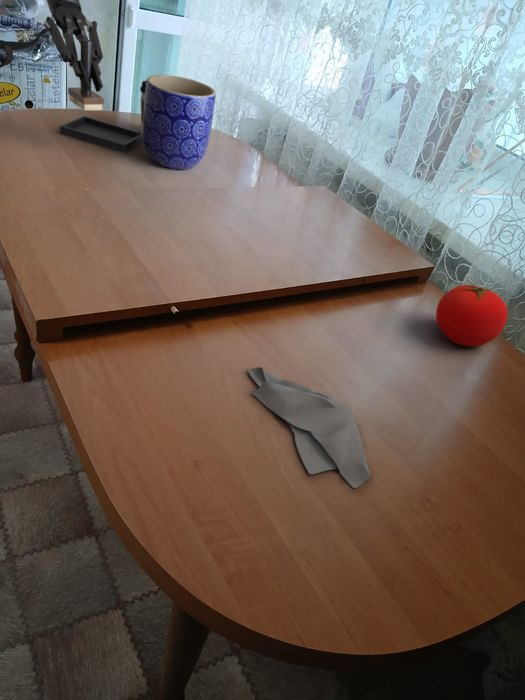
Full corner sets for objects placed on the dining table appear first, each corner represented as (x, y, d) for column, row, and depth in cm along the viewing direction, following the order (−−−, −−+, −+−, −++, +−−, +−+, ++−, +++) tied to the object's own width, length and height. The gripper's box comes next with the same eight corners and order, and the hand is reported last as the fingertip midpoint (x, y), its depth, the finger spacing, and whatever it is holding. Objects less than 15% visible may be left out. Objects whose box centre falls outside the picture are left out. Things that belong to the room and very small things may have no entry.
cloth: (399, 474, 78) (405, 463, 77) (321, 500, 72) (326, 489, 70) (307, 360, 95) (311, 350, 94) (238, 372, 89) (240, 362, 87)
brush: (68, 99, 141) (67, 34, 132) (87, 99, 144) (88, 36, 135) (83, 110, 136) (84, 44, 127) (103, 110, 140) (105, 45, 131)
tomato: (495, 364, 107) (524, 317, 100) (427, 345, 107) (451, 296, 100) (486, 330, 117) (512, 285, 110) (424, 312, 117) (446, 266, 110)
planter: (195, 180, 148) (206, 101, 136) (130, 163, 148) (135, 82, 136) (212, 160, 163) (223, 87, 150) (153, 144, 163) (159, 70, 151)
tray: (60, 133, 155) (59, 125, 153) (83, 122, 165) (83, 115, 164) (124, 152, 153) (124, 145, 152) (144, 140, 164) (144, 133, 163)
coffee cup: (132, 133, 167) (135, 81, 158) (144, 127, 174) (148, 76, 165) (157, 141, 166) (162, 89, 157) (168, 135, 173) (174, 84, 164)
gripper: (85, 8, 141) (115, 96, 143) (25, 1, 132) (58, 96, 133) (95, -11, 135) (127, 81, 137) (33, -20, 126) (68, 80, 127)
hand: (93, 88), depth 135 cm, fingers closed on brush, 3 cm apart
